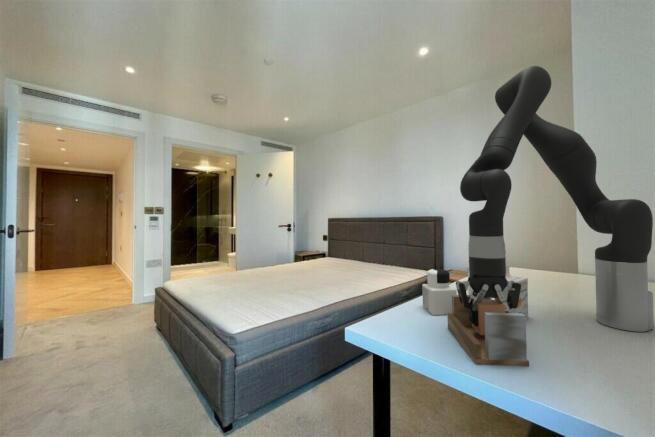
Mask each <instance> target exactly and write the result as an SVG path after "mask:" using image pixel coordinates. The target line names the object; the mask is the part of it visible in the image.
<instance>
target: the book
mask: <svg viewBox="0 0 655 437" xmlns="http://www.w3.org/2000/svg"><path fill="white" fill-rule="evenodd" d="M477 311H478V324H479V325H478V326H474V325H473V324H472V325H473V328H474V329H475V330H476V331H477V332H478V333H479V334H480V335H485V312H488V313H505V305H504V304H500V302H499V301H496V300H495V299H492V300H482V302H481V303H480V304H478V309H477Z"/></svg>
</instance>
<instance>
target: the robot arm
mask: <svg viewBox="0 0 655 437" xmlns="http://www.w3.org/2000/svg"><path fill="white" fill-rule="evenodd" d="M551 88H552V79H551V75H550V74H549V72H548V71H547V70H546V69H545V68H543V67H542V66H539V65H530V66H528V67H526V68H524V69H522V70H520V71H519V72H518V73H517V74H515V75H514V76H513V77H511V78H510V79H509V80H508V81H506V82H505V83H503V84H502V85H501V86H500V87H499V88H498V89H497V90H496V91H495V95H494V100H495V103H496V105H497V107H498V108H499V111H501V113H502V115H503V117H502V118H501V119H500V120H499V122H498V123H497V124H496V126H495V127H494V128H493V130H491V132H490V134H489V135H488V138H487V139H486V141H485V143H484V145H483V148H482V150H481V152H480V155H479V156H478V158H477V159H476V160H475V161H474V162H473V163H472V165H471V166H470V167H469V168H468V170H467V171H466V172H465V174H463V177H462V178H461V181H460V184H459V186H460V187H459V191H460V195H461V196H462V198H463V199H464V200H466V201H469V202H484V201H485V203H484V206H483V208H482V209H480V210H476V211H473V212H471V213H470V214H469V216H468V232H469V233H468V235H469V236H468V237H469V238H468V246H467V247H468V271H469V274H470V276H469V279H468V278H467V280H465V281H460V280H457V281H456V282H455V286H456V291H457V295H459V300H460V304H461V305H463V306H464V307H465V308H469V320H470V321H471V322H472V324H473V325H474V326H478V325H479V324H478V311H477V309H478V304H480V303H481V302H482V300H483V298H488V297H491V298H492V299H493V300H496V301H499V302H500V304H504V305H505V313H508V311H509V310H510V309H512V308H514V309H516V308H517V307H518V302H519V296H520V290H521V284H519V283H517V282H514V281H511V282H510V281H507V280H506V277H505V276H506V266H507V264H506V263H507V262H506V261H507V260H506V253H507V251H506V243H505V237H504V235H505V234H504V217H505V213H506V208H507V206H508V205H507V204H508V202H509V199H510V196H511V192H512V191H511V190H512V185H513V184H512V179H511V176H510V175H509V173H508V172H507V171H506V170H507V169H508V168H510V166H511V165H512V163H513V160H514V158H515V154H516V153H517V150H518V147H519V145H520V143H521V140H522V138H523V136H524V137H525V138H526V139H527V140H528V142H529V143H530V144H531V145H532V147H533V148H534V149H535V151H536V152H537V153H538V155H539V156H540V158H541V159H542V160H543V162H544V163H545V165H546V166H547V167H548V169H549V170H550V171H551V172H552V173H553V174H554V176H555V177H556V178H557V180H558V181H559V182H560V184H561V185H562V187H563V188H564V189H565V191H566V192H567V193H568V195H569V196H570V198H571V199H572V201H573V203H574V204H575V207H576V208H577V210H578V212H579V213H580V215H581V217H582V218H583V220H584V222H585V223H586V224H587V226H588V227H589V229H591V230H593V231H594V232H597V233H600V234H605V235H606V234H608V235H611V241H610V242H609V243H608V244H606V245H604V246H600V247H596V249H595V250H594V264H595V265H594V267H595V277H594V278H595V305H596V307H595V310H596V316H595V317H596V321H597V322H598V323H599V324H602V325H604V326H608V327H610V328H615V329H618V330H623V331H628V332H640V333H642V332H643V333H644V332H649V331H651V330H652V329H654V330H655V328H654V325H655V323H654V320H655V319H654V294H653V291H650V290H649V277H648V276H649V275H648V274H649V273H648V272H649V271H648V257H649V256H648V255H649V254H650V251H651V249H652V246H653V242H652V240H653V227H654V226H653V225H654V222H653V220H654V218H653V212H652V210H651V208H650V206H649V205H648V204H647V203H646V202H645V201H643V200H641V199H638V198H637V199H635V198H629V199H628V198H626V199H612V200H611V199H609V198H608V197H607V196H606V195H605V194H604V193H603V192H602V190H601V189H600V187H599V186H598V184H597V180H596V179H597V164H598V163H597V156H596V153H595V152H594V151H593V149H592V147H591V146H590V145H589V144H588V142H587V141H586V140H585V138H584V137H583V136H582V135H581V134H580V133H578V132H576V131H574V130H573V129H571V128H570V129H569V128H567V127H564V126H561V125H558V124H555V123H552V122H550V121H548V120H545V119H544V118H542V117H540V116H539V115H538V114H537V112H538V111H539V108H540V107H541V105H542V104H543V102H544V101H545V100H546V97H548V95H549V92H550V91H551ZM469 285H470V287H471V288H472V289H473V291H472V293H471V295H470V297H471V298H470V300H469V302H468V297H467V295H468V286H469ZM506 287H507V289H508V295H507V301H506V298H505V296H504V294H503V290H504V289H505V288H506Z"/></svg>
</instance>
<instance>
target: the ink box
mask: <svg viewBox="0 0 655 437" xmlns="http://www.w3.org/2000/svg"><path fill="white" fill-rule="evenodd" d="M510 267H511V266H510V264H508V265H506V276H505V277H506V280H507V281H510V282H511V281H514V282H517V283H519V284H521V290H520V296H519V302H518V307H517V308H516V309H514V308H512V309H510V310H509V311H508V313H522V314H524V315H525V316H526V319H528V318H529V296H528V294H529V293H528V292H529V291H528V288H529V287H528V286H529V284H528V283H529V282H528V280H529V279H528V277H524V276H517V275H512V274H511V275H510V269H511V268H510ZM503 294H504V296H505V298H506V301H507V295H508V289H507V287H506V288H505V289H504V290H503Z"/></svg>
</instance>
